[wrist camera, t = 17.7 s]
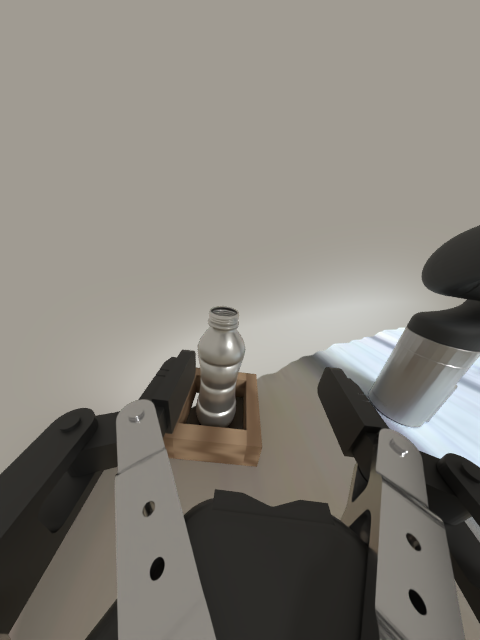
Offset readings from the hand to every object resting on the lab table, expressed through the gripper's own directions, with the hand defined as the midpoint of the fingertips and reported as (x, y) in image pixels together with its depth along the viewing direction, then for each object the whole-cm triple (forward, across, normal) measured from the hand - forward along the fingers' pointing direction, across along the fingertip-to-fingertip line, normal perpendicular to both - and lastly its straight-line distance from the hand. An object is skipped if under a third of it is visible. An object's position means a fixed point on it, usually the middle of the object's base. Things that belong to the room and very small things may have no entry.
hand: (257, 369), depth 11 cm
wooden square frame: (+11, +4, +21) cm, 24 cm away
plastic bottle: (+11, +4, +22) cm, 24 cm away
